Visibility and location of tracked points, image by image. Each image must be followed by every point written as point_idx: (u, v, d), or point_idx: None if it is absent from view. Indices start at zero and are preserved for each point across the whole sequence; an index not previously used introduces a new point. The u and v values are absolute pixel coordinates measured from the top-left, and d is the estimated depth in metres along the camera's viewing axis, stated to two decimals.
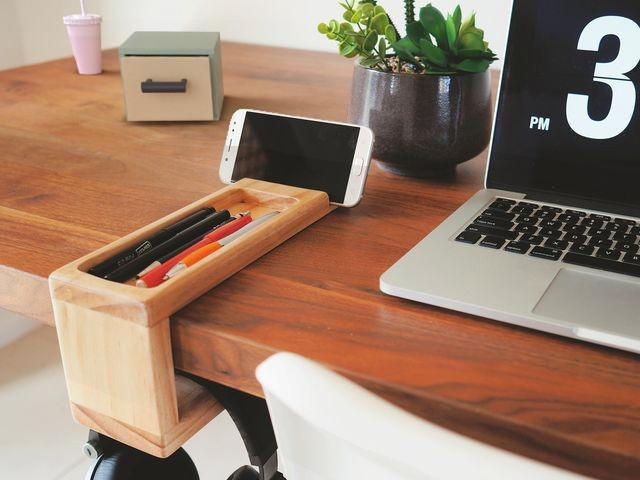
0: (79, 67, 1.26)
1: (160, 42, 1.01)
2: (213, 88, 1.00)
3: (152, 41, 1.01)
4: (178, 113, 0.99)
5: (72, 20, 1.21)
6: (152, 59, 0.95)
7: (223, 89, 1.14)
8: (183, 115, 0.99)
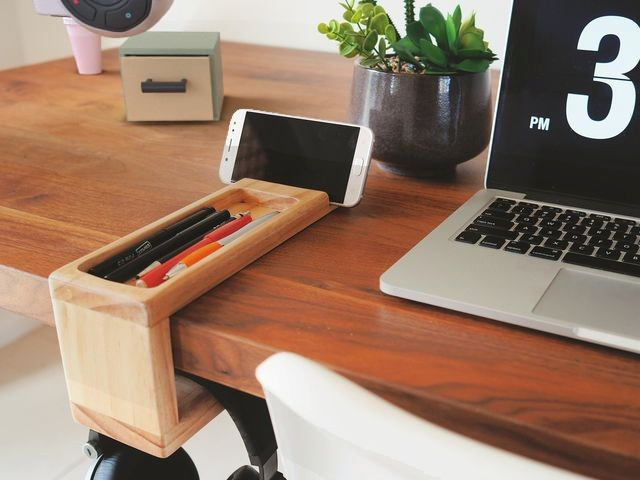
0: (79, 67, 1.26)
1: (160, 42, 1.01)
2: (213, 88, 1.00)
3: (152, 41, 1.01)
4: (178, 113, 0.99)
5: (72, 20, 1.21)
6: (152, 59, 0.95)
7: (223, 89, 1.14)
8: (183, 115, 0.99)
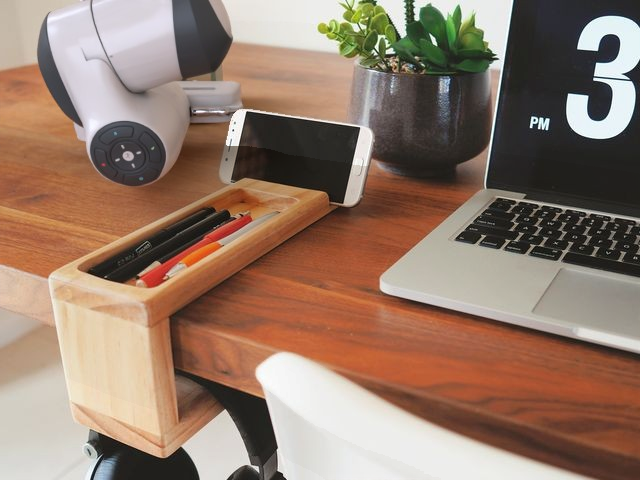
0: None
1: None
2: None
3: None
4: None
5: None
6: None
7: None
8: None
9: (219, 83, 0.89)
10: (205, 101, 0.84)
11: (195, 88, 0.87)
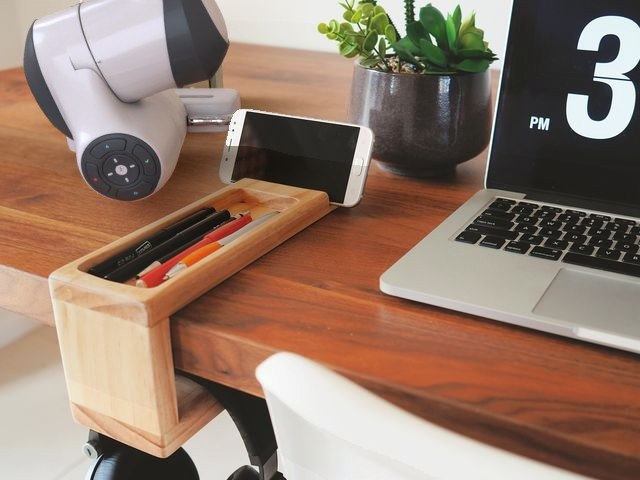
0: None
1: None
2: None
3: None
4: None
5: None
6: None
7: None
8: None
9: (217, 90, 0.85)
10: (203, 110, 0.81)
11: (192, 96, 0.83)
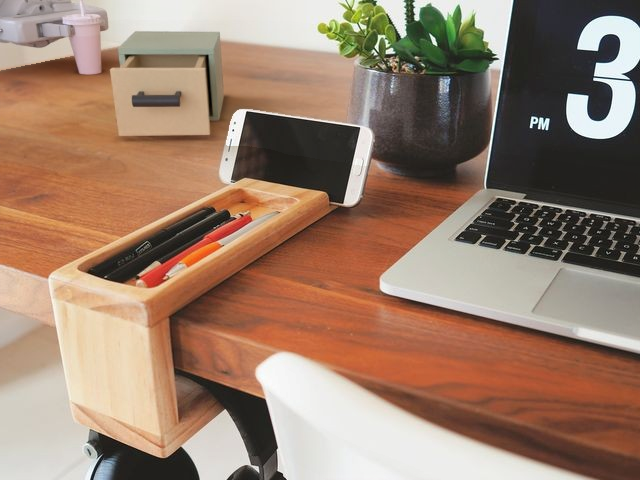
0: (79, 67, 1.26)
1: (160, 42, 1.01)
2: (213, 88, 1.00)
3: (152, 41, 1.01)
4: (172, 128, 0.92)
5: (71, 20, 1.21)
6: (144, 70, 0.89)
7: (223, 89, 1.14)
8: (177, 130, 0.92)
9: (22, 19, 1.20)
10: None
11: (28, 17, 1.23)
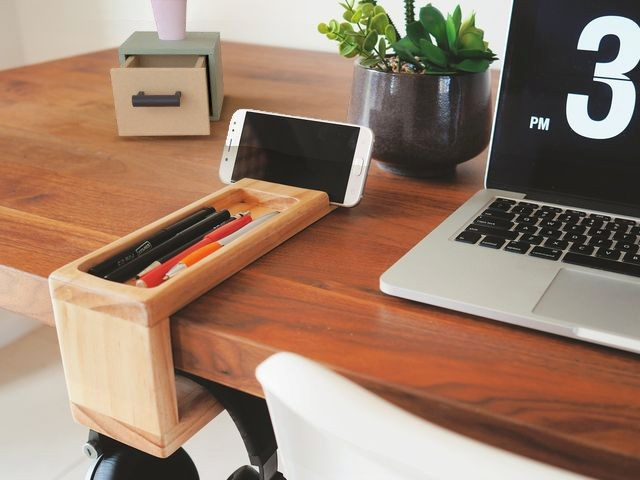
0: (160, 29, 1.02)
1: (160, 42, 1.01)
2: (213, 88, 1.00)
3: (152, 41, 1.01)
4: (172, 128, 0.92)
5: None
6: (144, 70, 0.89)
7: (223, 89, 1.14)
8: (177, 130, 0.92)
9: None
10: None
11: None
